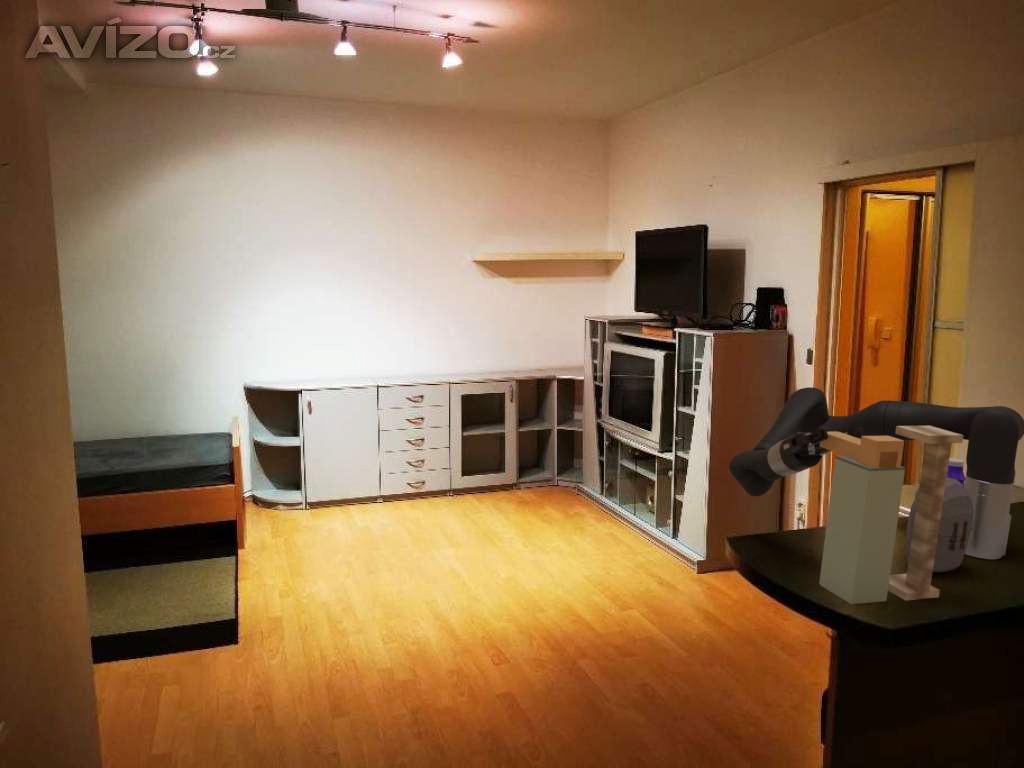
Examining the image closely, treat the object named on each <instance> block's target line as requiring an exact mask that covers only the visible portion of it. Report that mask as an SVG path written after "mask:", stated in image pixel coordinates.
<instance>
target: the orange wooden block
mask: <svg viewBox="0 0 1024 768" xmlns="http://www.w3.org/2000/svg"><path fill="white" fill-rule="evenodd" d="M827 433H828V439H826V440H824V441H822V442H820V447H822V448H825V449H828V450H831V451H833V452H834V453H836V454H839V455H840V456H847V457H850V458H852V459H855V460H858V463H861V464H864V465H866V466H869V467H872V468H897V467H901V466H902V459H903V453H904V447H905V446H904V445H905V440H900V439H897V438H894V437H891V436H862V437H861V439H859V438H856V437H853V436H850V435H847V434H844V433H841V432H827Z"/></svg>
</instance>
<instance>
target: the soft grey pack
mask: <svg viewBox="0 0 1024 768" xmlns="http://www.w3.org/2000/svg"><path fill="white" fill-rule="evenodd" d="M918 492H919V487H918V488H917V490H915V493H914V494H915V495H914V500H913V502H912V504H911V506H910V510H909V515H908V520H907V523H906V531H905V532H906V534H905V537H906V538H905V550H906V551H905V552H906V554H905V555H906V562H907V563H908V561H909V554H910V548H911V541H912V534H913V527H914V520H915V513H916V506H917V499H918ZM972 524H973V506H972V499H971V497H970V494H969V492H968V491H967V489H966V488H965V487H964V485H963V484H961V483H960V482H959V481H957V480H956V479H952V478H948V477H947V479H946V485H945V492H944V499H943V505H942V512H941V519H940V525H939V532H938V538H937V545H936V552H935V558H934V565H933V572H932V573H943V572H949V571H953V570H956V569H957V568H958V567H960V566H961V565H962V561H963V559H964V556H965V555H966V554H965V551H966V548H967V544H968V540H969V536H970V532H971V531H972Z"/></svg>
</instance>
